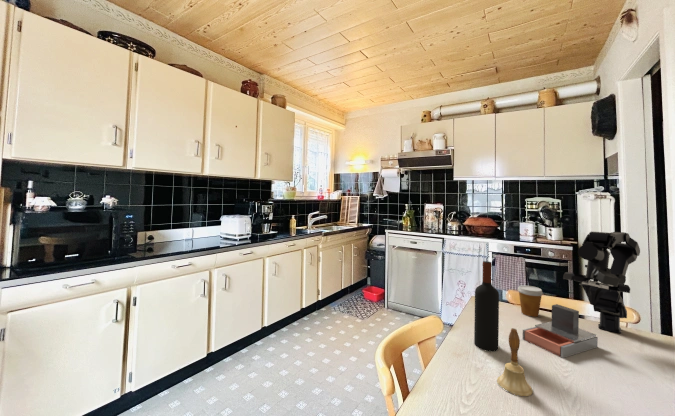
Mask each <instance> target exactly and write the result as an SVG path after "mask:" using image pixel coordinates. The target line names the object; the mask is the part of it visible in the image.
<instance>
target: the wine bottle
mask: <svg viewBox="0 0 675 416" xmlns="http://www.w3.org/2000/svg"><path fill="white" fill-rule="evenodd" d="M492 265H493V263H492V261H489V260H488V261H487V260H484V261H482V283H481V284H480V285H478V286H477V287H476V288H475V290H474V326H473V327H474V330H473V331H474V332H473V333H474V337H473V338H474V339H473V341H474V346H475V347H476V348H478V349H480V350H483V351H485V350H486V352H491V351H492V352H497V351H499V329H500V328H499V325H500V324H499V323H500V321H499V320H500V318H499V315H500V311H499V310H500V294H499V290H498V289H497V288H496V287H494V286H493V284H492Z"/></svg>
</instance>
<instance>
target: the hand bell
mask: <svg viewBox="0 0 675 416" xmlns="http://www.w3.org/2000/svg"><path fill="white" fill-rule="evenodd" d="M520 342H521V340H520V336H519V333H518V330H517V329H516V328H511V329H510V332H509V335H508V346H509V349H510V362H507V363H505V364H504V370H503V373H502V374H501V375H499V376H498V377H497V379H496V382H497V385H498V384H499V385H500V386H501V387H502V388H504V389H505V390H507V391H509V392H511V393H512V394H511V393H510V394H511V395H513V394H515V395H514V396H517V395H519V396H518V397H523V396H525V397H530V396H532V394H533V392H534V391H533V390H534V389H532V387H531V385H530V383H528V381H527V379H526V375H525V370H524V368H523V367H522V366H521V365H520V364H519V359H518V358H519V356H518V352H519V350H520ZM499 385H498V386H499ZM500 386H499V387H500ZM501 387H500V388H501ZM502 388H501V389H502ZM505 390H504V391H505ZM507 391H506V392H507ZM509 392H508V393H509Z"/></svg>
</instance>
